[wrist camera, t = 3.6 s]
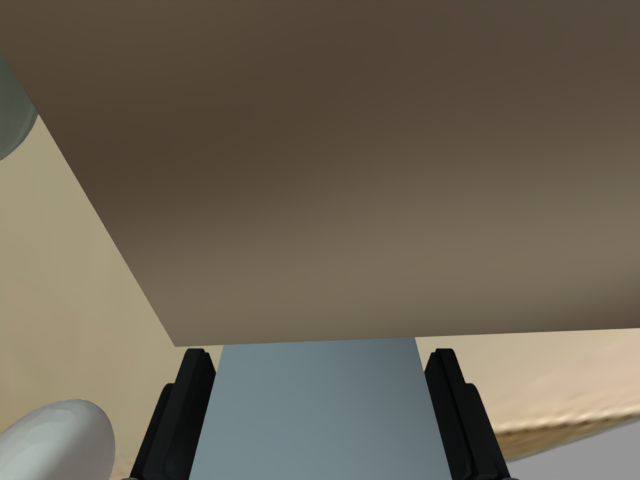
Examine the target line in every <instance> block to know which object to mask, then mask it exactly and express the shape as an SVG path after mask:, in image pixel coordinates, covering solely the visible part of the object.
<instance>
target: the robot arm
mask: <svg viewBox="0 0 640 480" xmlns="http://www.w3.org/2000/svg"><path fill="white" fill-rule="evenodd" d="M424 374H425V378H426V382H427V386H428V390H429V394H430V397H431V401H432V405H433V409H434V413H435V417H436V420H437V424H438V428H439V432H440V436H441V439H442V443H443V447H444V451H445V455H446V459H447V462H448V466H449V470H450V474H451V478H452V480H519V479H517V478H511V476H510V473H509V470H508V468H507V465H506V463H505V460H504V457H503V455H502V452H501V449H500V447H499V444H498V441H497V439H496V436H495V434H494V431H493V428H492V426H491V423H490V420H489V418H488V415H487V412H486V410H485V407H484V405H483V402H482V399H481V397H480V394H479V392H478V390H477V388H476V386H475V385H474V384H473V383H466V382H465V379H464V377H463V374H462V371H461V368H460V365H459V363H458V360H457V357H456V354H455V352H454V350H453V349H452V348H437V349H436V350H435V352H431V354H430V357H429V360H428V362H427V365H426V368H425V371H424ZM215 376H216V371H215V368H214V365H213V362H212V360H211V357H210V354H209V352H205V350H204V349H203V348H188V349H187V350H186V352H185V354H184V357H183V360H182V363H181V365H180V368H179V371H178V374H177V377H176V379H175V382H174V383H167V384H166V385H165V386H164V388H163V390H162V392H161V394H160V397H159V399H158V402H157V405H156V407H155V410H154V412H153V415H152V418H151V420H150V423H149V426H148V428H147V431H146V434H145V436H144V439H143V441H142V444H141V447H140V449H139V452H138V455H137V457H136V460H135V463H134V465H133V468H132V470H131V473H130V476H129V478H123V479H121V480H189V477H190V473H191V469H192V466H193V462H194V458H195V454H196V450H197V446H198V442H199V438H200V435H201V431H202V427H203V423H204V419H205V415H206V411H207V407H208V404H209V400H210V396H211V392H212V388H213V384H214V380H215Z"/></svg>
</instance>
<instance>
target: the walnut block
mask: <svg viewBox="0 0 640 480" xmlns="http://www.w3.org/2000/svg"><path fill="white" fill-rule="evenodd" d="M0 49H1V51H2V52H3V54H4V56H5V58H6V59H7V61H8V63H9V64H10V66H11V68H12V70H13V71H14V73H15V75H16V76H17V78H18V80H19V81H20V83H21V85H22V87H23V88H24V90H25V92H26V93H27V95H28V97H29V99H30V100H31V102H32V104H33V105H34V107H35V109H36V111H37V112H38V114H39V116H40V117H41V119H42V121H43V122H44V124H45V126H46V128H47V129H48V131H49V133H50V134H51V136H52V138H53V140H54V141H55V143H56V145H57V146H58V148H59V150H60V151H61V153H62V155H63V157H64V158H65V160H66V162H67V163H68V165H69V167H70V169H71V170H72V172H73V174H74V175H75V177H76V179H77V180H78V182H79V184H80V186H81V187H82V189H83V191H84V192H85V194H86V196H87V198H88V199H89V201H90V203H91V204H92V206H93V208H94V209H95V211H96V213H97V215H98V216H99V218H100V220H101V221H102V223H103V225H104V227H105V228H106V230H107V232H108V233H109V235H110V237H111V238H112V240H113V242H114V244H115V245H116V247H117V249H118V250H119V252H120V254H121V256H122V257H123V259H124V261H125V262H126V264H127V266H128V267H129V269H130V271H131V273H132V274H133V276H134V278H135V279H136V281H137V283H138V285H139V286H140V288H141V290H142V291H143V293H144V295H145V296H146V298H147V300H148V302H149V303H150V305H151V307H152V308H153V310H154V312H155V314H156V315H157V317H158V319H159V320H160V322H161V324H162V325H163V327H164V329H165V331H166V332H167V334H168V336H169V337H170V339H171V341H172V343H173V344H174V346H175V347H187V346H212V345H237V344H261V343H286V342H311V341H336V340H361V339H386V338H410V337H435V336H460V335H485V334H510V333H534V332H559V331H584V330H609V329H634V328H640V0H0Z"/></svg>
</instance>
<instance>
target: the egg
mask: <svg viewBox="0 0 640 480" xmlns="http://www.w3.org/2000/svg"><path fill="white" fill-rule="evenodd" d="M114 461H115V436H114V432H113V428H112V424H111V422H110V420H109V418H108V417H107V415H106V413H105V412H104V411H103V410H102V409H101V408H100V407H98V406H97V405H96V404H94V403H92V402H90V401H86V400H82V399H68V400H63V401H58V402H53V403H50V404H47V405H45V406H42V407H40V408H38V409H36V410H34V411H32V412H30V413H28V414H27V415H25V416H23V417H22V418H20V419H18V420H17V421H15V422H14V423H13V424H12V425H10V426H9V427H8V428H7V429H6V430H4V431H3V432H2V433H1V434H0V480H109V479H110V476H111V473H112V469H113V465H114Z"/></svg>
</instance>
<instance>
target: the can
mask: <svg viewBox="0 0 640 480" xmlns="http://www.w3.org/2000/svg"><path fill="white" fill-rule="evenodd" d="M37 116H38V112H37V111H36V109H35V107H34V105H33V104H32V102H31V100H30V99H29V97H28V95H27V93H26V92H25V90H24V88H23V87H22V85H21V83H20V81H19V80H18V78H17V76H16V75H15V73H14V71H13V70H12V68H11V66H10V64H9V63H8V61H7V59H6V58H5V56H4V54H3V52H2V51H1V49H0V161H1V160H3V159H4V158H5V157H7V156H8V155H10V154H11V153H12V152H13V151H14V150H15V149H16V148H17V147H18V146H19V145H20V144H21V143H22V142H23V141H24V140H25V139H26V137H27V136H28V134H29V133H30V131H31V130H32V128H33V126H34V124H35V122H36V119H37Z"/></svg>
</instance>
